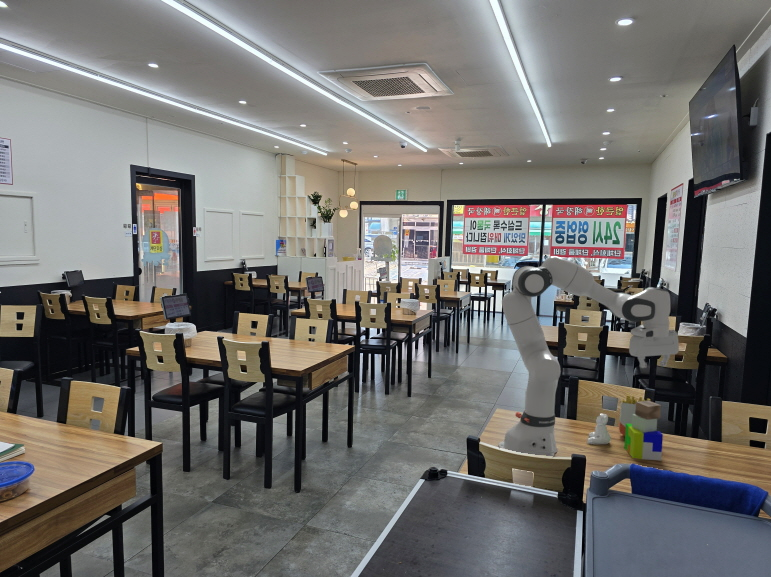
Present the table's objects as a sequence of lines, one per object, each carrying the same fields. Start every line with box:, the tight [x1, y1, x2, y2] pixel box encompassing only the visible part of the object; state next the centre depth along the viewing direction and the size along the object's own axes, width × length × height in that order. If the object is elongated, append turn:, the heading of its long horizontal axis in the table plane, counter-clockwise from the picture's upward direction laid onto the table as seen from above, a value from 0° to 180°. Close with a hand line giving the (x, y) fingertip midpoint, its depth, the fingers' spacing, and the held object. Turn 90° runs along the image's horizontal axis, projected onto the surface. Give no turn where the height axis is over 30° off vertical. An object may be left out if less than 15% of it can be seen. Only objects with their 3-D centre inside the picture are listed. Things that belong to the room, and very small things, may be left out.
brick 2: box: [632, 414, 658, 432], centre depth 192 cm, size 6×6×5 cm
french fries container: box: [618, 394, 651, 437], centre depth 209 cm, size 5×11×18 cm, turn 68°
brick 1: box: [635, 400, 662, 420], centre depth 191 cm, size 6×6×5 cm
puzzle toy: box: [624, 424, 664, 461], centre depth 193 cm, size 10×10×10 cm
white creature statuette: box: [586, 413, 612, 445], centre depth 204 cm, size 10×9×12 cm
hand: (653, 366), depth 190 cm, fingers open, 8 cm apart
